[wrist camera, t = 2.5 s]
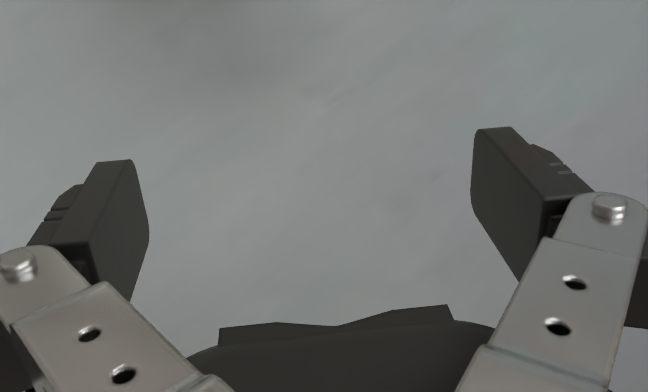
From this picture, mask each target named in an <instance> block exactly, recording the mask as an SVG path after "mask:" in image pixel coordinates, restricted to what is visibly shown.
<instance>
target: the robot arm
mask: <svg viewBox="0 0 648 392" xmlns="http://www.w3.org/2000/svg"><path fill="white" fill-rule="evenodd" d="M470 195H471V203H472V208H473V211H474V213H475V215H476V217H477V218H478V220H479V221H480V223H481V224H482V226H483V227H484V229H485V231H486V232H487V234H488V235H489V237H490V238H491V240H492V241H493V243H494V244H495V246H496V248H497V249H498V251H499V252H500V254H501V255H502V257H503V258H504V260H505V262H506V263H507V265H508V266H509V268H510V269H511V271H512V272H513V274H514V275H515V277H516V279H517V280H518V282H519V284H518V286H517V288H516V290H515V292H514V294H513V296H512V298H511V299H510V301H509V303H508V305H507V307H506V309H505V311H504V313H503V315H502V317H501V319H500V321H499V323H498V325H497V327H496V328H495V329H494V328H491V327H488V326H484V325H480V324H476V323H471V322H465V321H457V320H454V319H453V317H452V314H451V312H450V310H449V308H448V305H447V304H446V305H436V306H427V307H417V308H408V309H398V310H391V311H387V312H384V313H381V314H377V315H374V316H371V317H367V318H364V319H360V320H357V321H354V322H350V323H347V324H343V325H339V326H321V325H307V324H293V323H280V322H274V323H265V324H255V325H246V326H236V327H227V328H220V329H219V339H218V345H217V346H214V347H211V348H208V349H205V350H203V351H200V352H198V353H196V354H193V355H191V356H189V357H187V358H185V357H184V356H183V355H182V354H181V353H180V352H179V351H178V350H177V349H176V348H175V347H174V346H173V345H172V344H171V343H170V342H169V341H168V340H167V339H166V338H165V337H164V336H163V335H162V334H161V333H160V332H159V331H158V330H156V329H155V328H154V327H153V326H152V325H151V324H150V323H149V322H148V321H147V320H146V319H145V318H144V317H143V316H142V315H141V314H140V313H139V312H138V311H137V310H136V309H135V308H134V307H133V306H132V305H131V304H130V300H131V297H132V294H133V291H134V287H135V284H136V281H137V278H138V275H139V272H140V269H141V266H142V263H143V259H144V256H145V253H146V250H147V247H148V243H149V225H148V219H147V214H146V210H145V206H144V202H143V197H142V193H141V189H140V185H139V180H138V176H137V172H136V168H135V165H134V163H133V161H132V160H130V159H128V160H117V161H106V162H97V163H96V164H95V166H94V167H93V169H92V171H91V172H90V174H89V176H88V177H87V179H86V181H85V182H84V184H80V185H74V186H73V187H72V188H70V189H69V190H67V191H66V192H65V193H63V194H62V195H60V196H59V197H58V198H57V200H56V202H55V203H54V205H53V206H52V208H51V211H49V212H48V214H47V215H46V217H45V218H44V222H42V223H41V224H40V226H39V227H38V229H37V230H36V232H35V233H34V235H33V236H32V238H31V239H30V241H29V242H28V244H27V245H26V246H25V247H21V248H17V249H13V250H11V251H8V252H5V253H3V254H1V255H0V392H613V391H611V390H609V389H608V387H609V383H610V378H611V374H612V370H613V366H614V362H615V358H616V354H617V350H618V346H619V342H620V338H621V334H622V330H623V326H626V327H635V328H643V329H648V209H647V208H646V207H645V206H644V205H643V204H641V203H640V202H638V201H636V200H634V199H632V198H629V197H626V196H623V195H619V194H615V193H608V192H595V191H594V190H592V189H591V188H590V187H589V186H588V185H587V184H586V183H585V182H584V181H583V180H582V179H580V178H579V177H578V176H577V175H576V174H575V173H572V170H571V169H570V168H568V167H567V166H566V165H563V162H562V161H561V160H560V159H559V158H558V157H557V156H555V155H554V154H553V153H552V152H550V151H548V150H546V149H543V148H541V147H539V146H537V145H534V144H531V145H529V144H528V143H527V142H526V141H525V140H524V139H523V138H522V137H521V136H520V135H519V134H518V133H517V132H516V131H515V130H514V129H513V128H512V127H498V128H487V129H479V130H477V132H476V134H475V138H474V148H473V161H472V175H471V188H470Z"/></svg>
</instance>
